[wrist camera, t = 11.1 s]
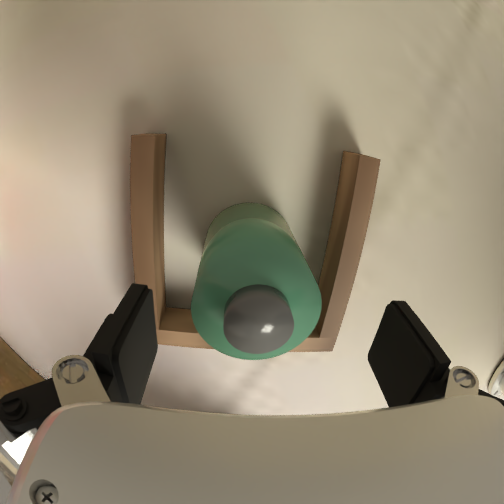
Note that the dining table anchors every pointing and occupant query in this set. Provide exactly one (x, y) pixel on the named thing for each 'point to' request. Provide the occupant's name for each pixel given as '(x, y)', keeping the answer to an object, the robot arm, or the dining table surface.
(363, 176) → the u rest
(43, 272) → the dining table surface
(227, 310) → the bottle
